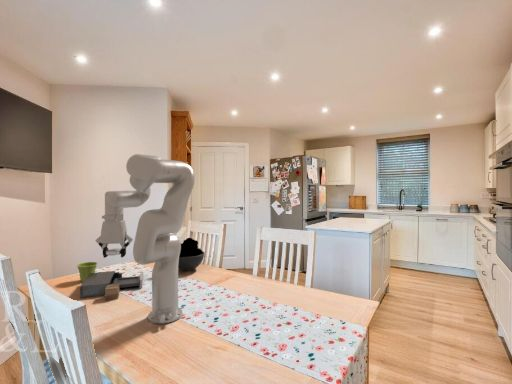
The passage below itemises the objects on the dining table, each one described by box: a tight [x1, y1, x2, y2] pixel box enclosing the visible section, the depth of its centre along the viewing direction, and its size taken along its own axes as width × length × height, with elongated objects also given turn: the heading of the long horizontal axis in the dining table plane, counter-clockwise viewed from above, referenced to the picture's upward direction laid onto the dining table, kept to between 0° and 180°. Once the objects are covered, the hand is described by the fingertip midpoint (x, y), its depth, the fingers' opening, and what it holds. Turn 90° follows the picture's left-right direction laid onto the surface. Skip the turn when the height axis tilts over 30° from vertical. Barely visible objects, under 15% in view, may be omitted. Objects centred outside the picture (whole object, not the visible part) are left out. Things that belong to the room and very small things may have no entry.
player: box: [79, 270, 123, 299], centre depth 135 cm, size 20×15×5 cm
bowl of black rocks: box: [178, 237, 205, 272], centre depth 165 cm, size 20×20×19 cm
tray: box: [113, 271, 144, 289], centre depth 139 cm, size 14×14×4 cm
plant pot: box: [76, 261, 99, 283], centre depth 147 cm, size 9×9×9 cm
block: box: [104, 284, 120, 301], centre depth 124 cm, size 5×5×5 cm
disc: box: [106, 247, 122, 256], centre depth 126 cm, size 7×7×2 cm
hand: (114, 256), depth 126 cm, fingers closed on disc, 7 cm apart
